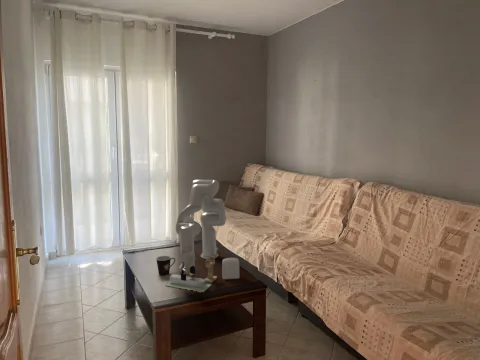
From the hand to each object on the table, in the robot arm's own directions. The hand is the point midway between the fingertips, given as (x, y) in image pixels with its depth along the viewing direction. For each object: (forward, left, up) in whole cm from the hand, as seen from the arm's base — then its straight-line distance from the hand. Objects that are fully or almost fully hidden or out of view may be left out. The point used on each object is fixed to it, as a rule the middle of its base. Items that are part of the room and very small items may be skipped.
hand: (188, 276), depth 202 cm
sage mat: (0, 0, -5) cm, 5 cm away
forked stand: (-12, 0, -5) cm, 13 cm away
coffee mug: (-11, -22, -5) cm, 25 cm away
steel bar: (0, 0, -5) cm, 4 cm away
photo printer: (-19, +18, -5) cm, 26 cm away
